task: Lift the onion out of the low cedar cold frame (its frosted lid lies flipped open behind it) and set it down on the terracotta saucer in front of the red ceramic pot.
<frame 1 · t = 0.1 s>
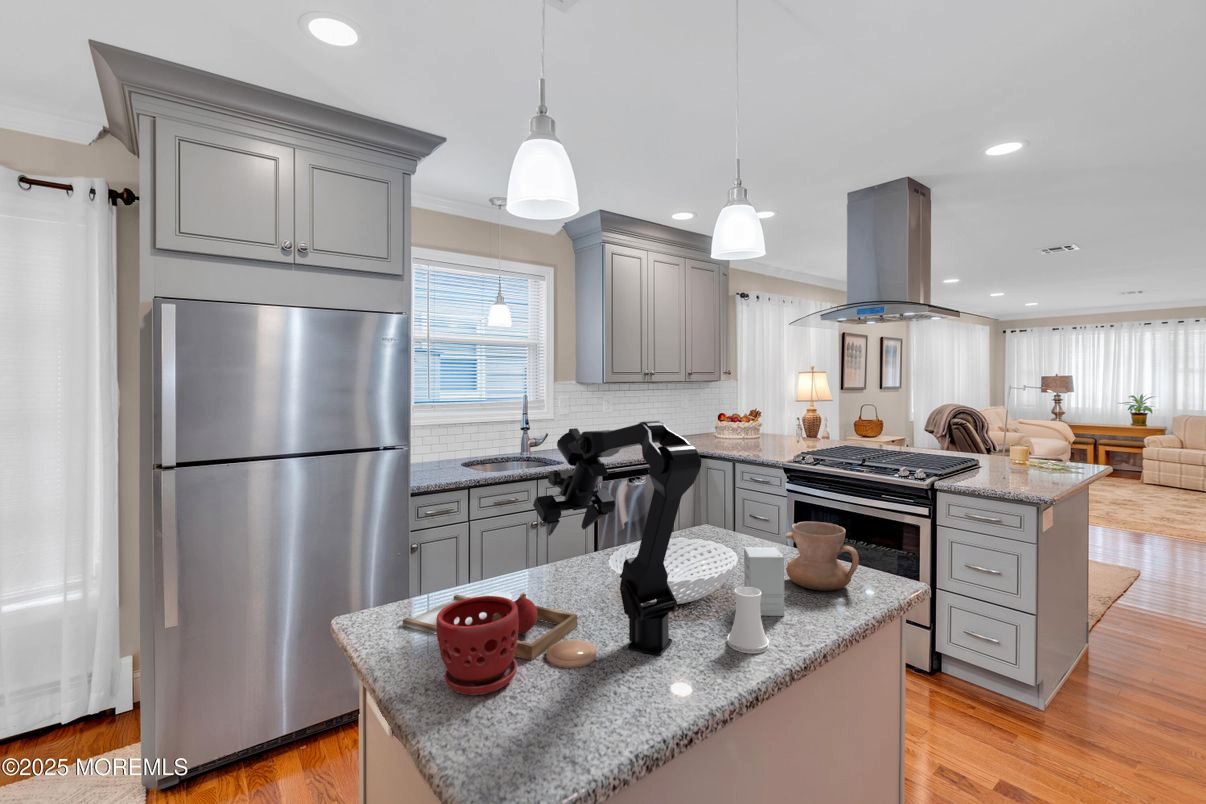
hand: (566, 531, 130), 15 cm above the kitchen island, tool tilted 35°, fingers open, 9 cm apart
cold frame: (522, 634, 109), on the kitchen island
vase: (748, 645, 104), on the kitchen island
plant pot: (478, 682, 92), on the kitchen island
ceramic jug: (820, 586, 135), on the kitchen island
supplement box: (763, 610, 121), on the kitchen island
onion: (522, 635, 109), resting in cold frame
saucer: (571, 655, 100), on the kitchen island
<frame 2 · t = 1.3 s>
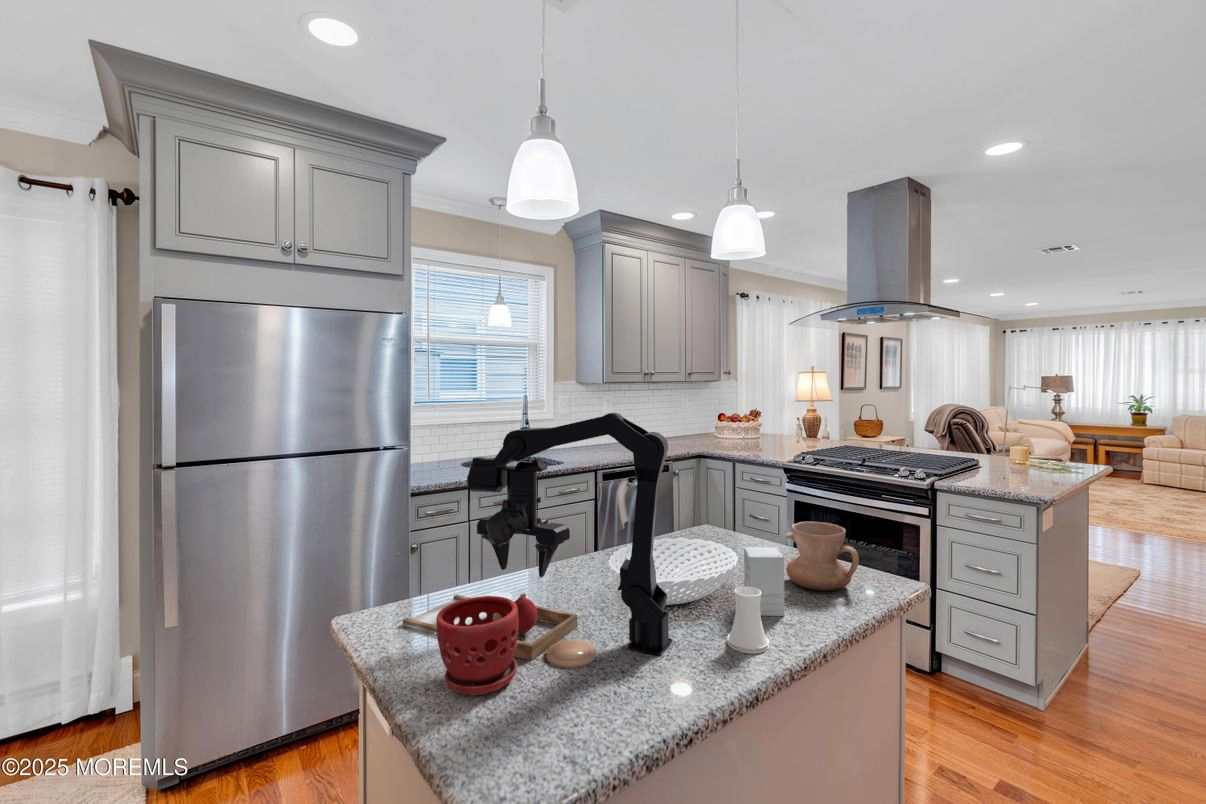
hand: (522, 573, 109), 12 cm above the kitchen island, tool pointing down, fingers open, 9 cm apart
nothing on the kitchen island moved.
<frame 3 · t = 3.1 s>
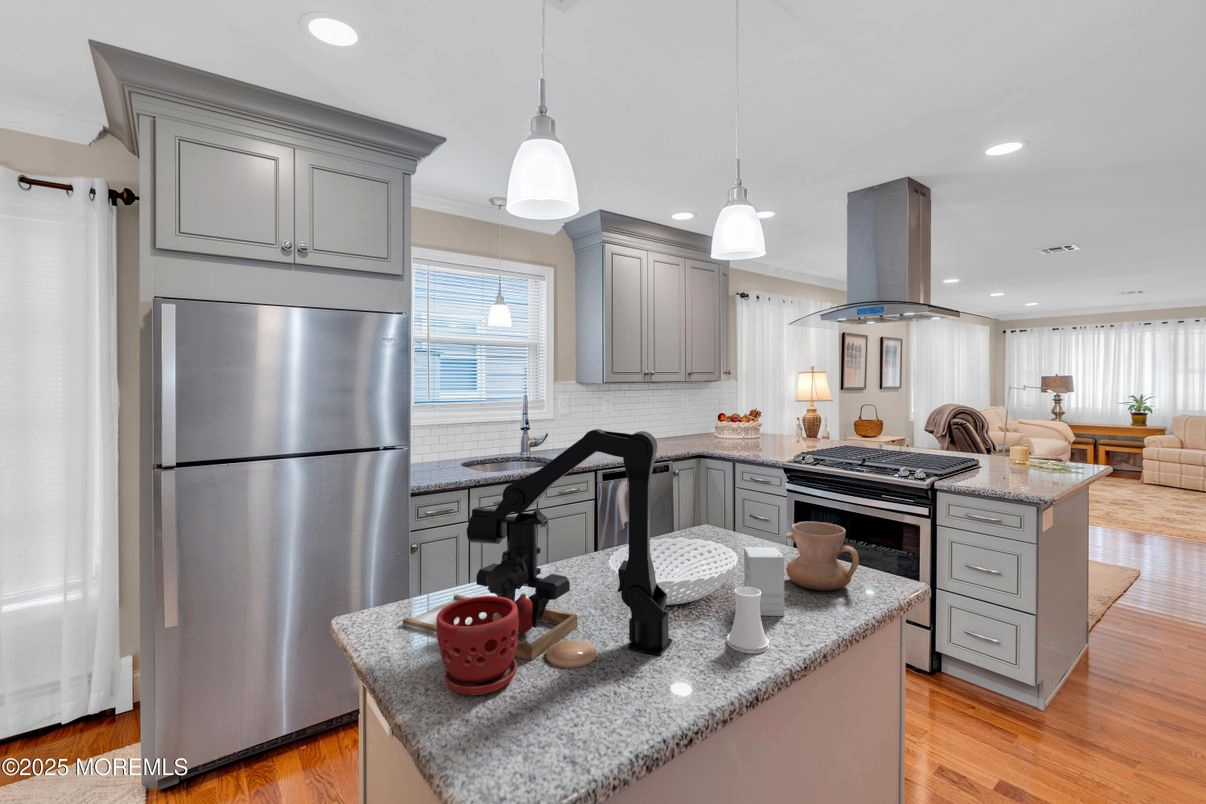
hand: (522, 624, 109), 2 cm above the kitchen island, tool pointing down, fingers closed on onion, 6 cm apart
onion: (522, 635, 109), resting in cold frame, touching gripper
everything else where it was.
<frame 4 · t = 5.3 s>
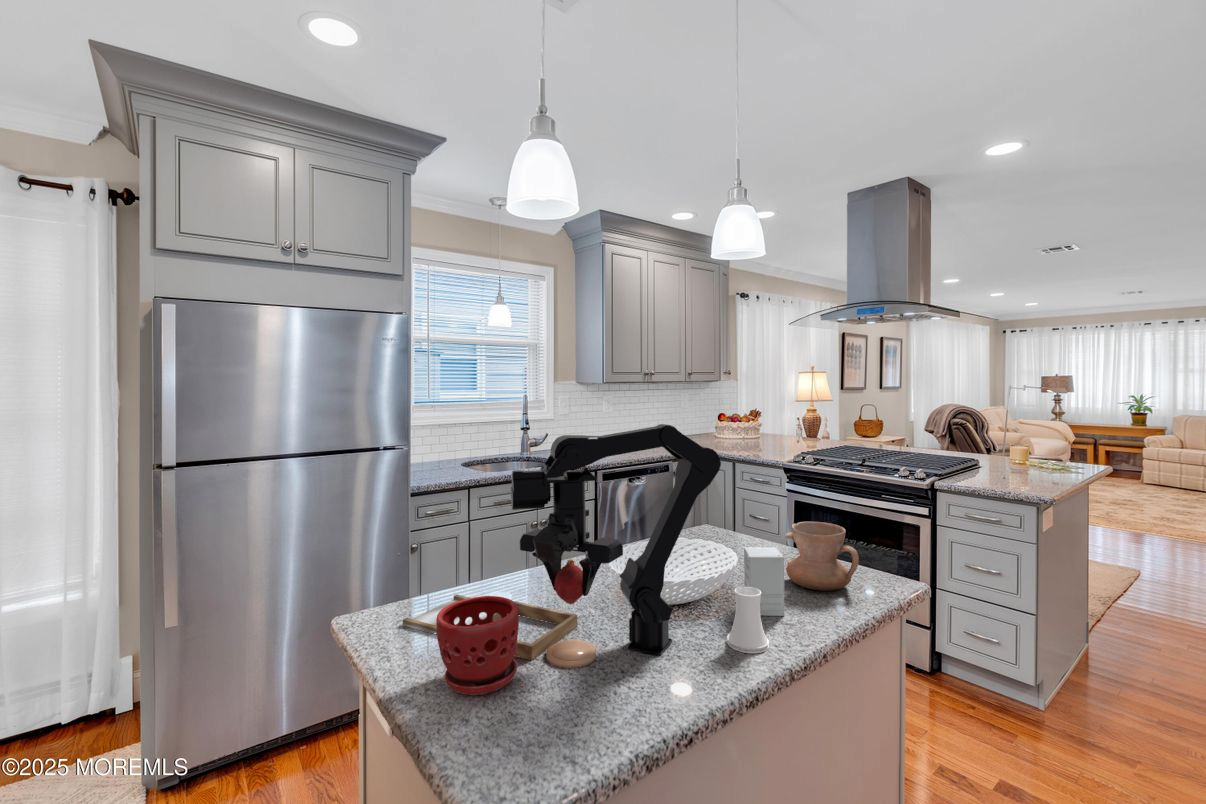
hand: (570, 592, 100), 11 cm above the kitchen island, tool pointing down, fingers closed on onion, 6 cm apart
onion: (571, 605, 100), point 9 cm above the kitchen island, touching gripper
everything else where it was.
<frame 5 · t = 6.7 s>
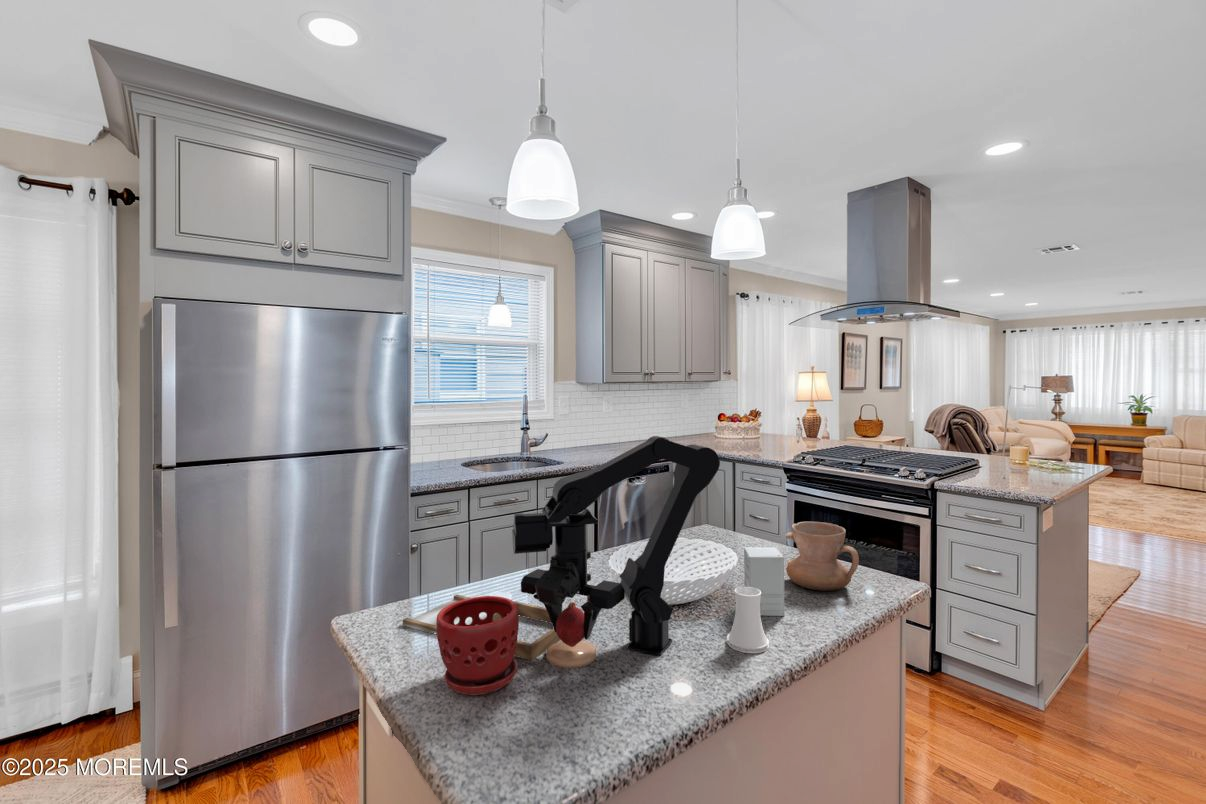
hand: (572, 635, 100), 4 cm above the kitchen island, tool pointing down, fingers closed on onion, 6 cm apart
onion: (572, 647, 100), point 1 cm above the kitchen island, touching gripper
everything else where it was.
when the fingers open (3 cm above the kitchen island, at t = 7.6 s): onion stays where it is, resting on saucer.
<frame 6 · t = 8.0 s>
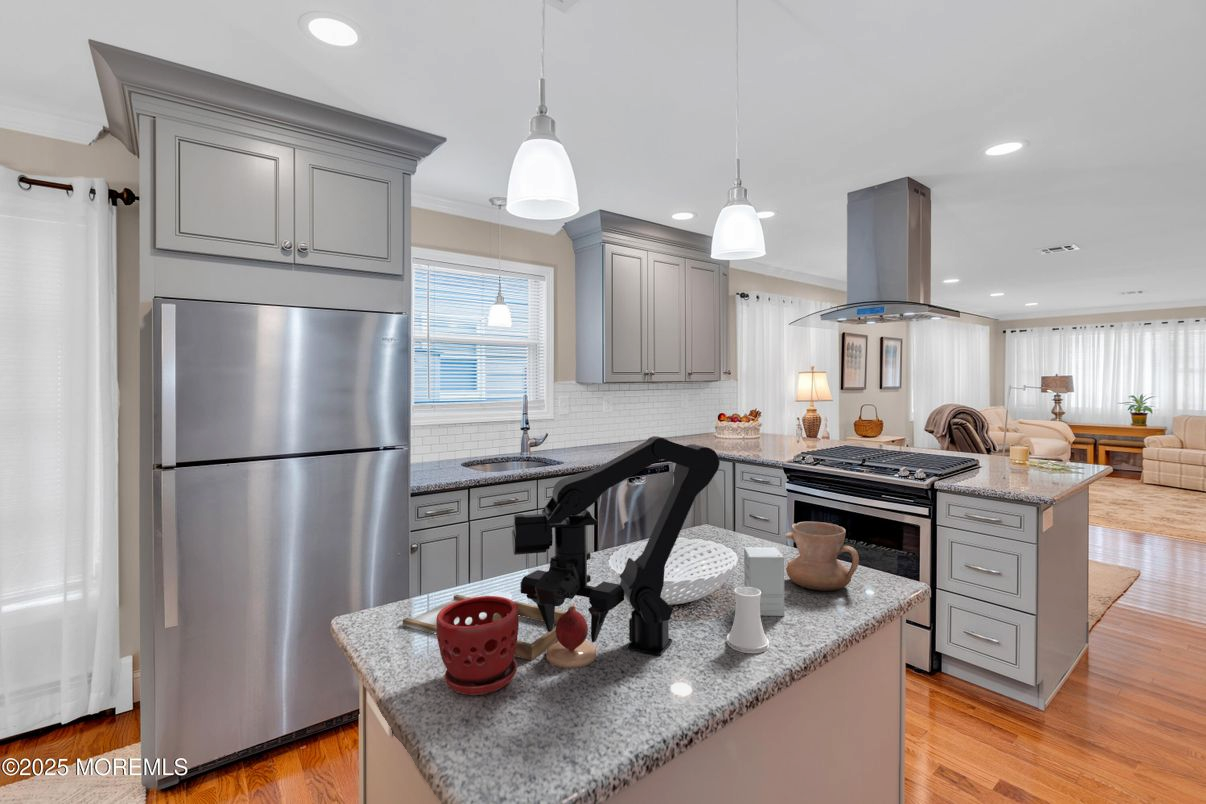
hand: (571, 636, 100), 3 cm above the kitchen island, tool pointing down, fingers open, 9 cm apart
onion: (571, 651, 100), point 1 cm above the kitchen island, touching saucer
everything else where it was.
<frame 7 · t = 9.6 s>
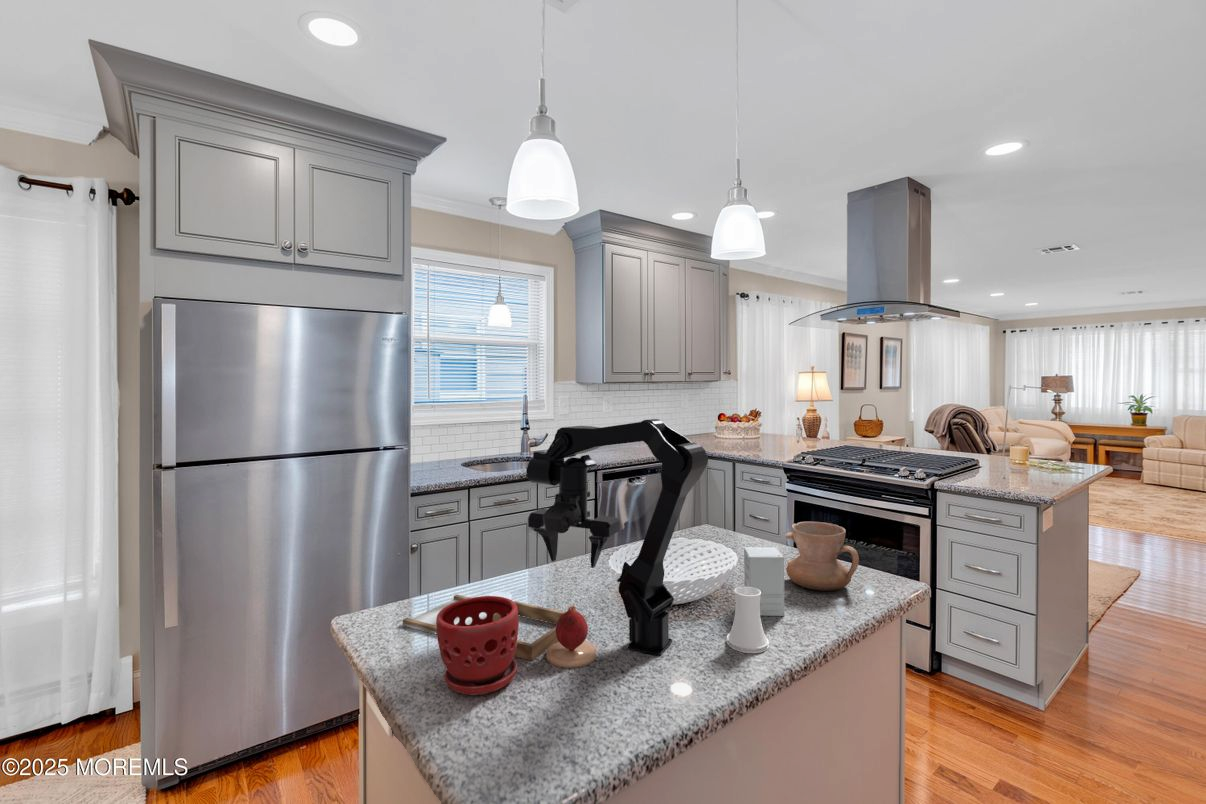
hand: (573, 564, 114), 12 cm above the kitchen island, tool pointing down, fingers open, 9 cm apart
nothing on the kitchen island moved.
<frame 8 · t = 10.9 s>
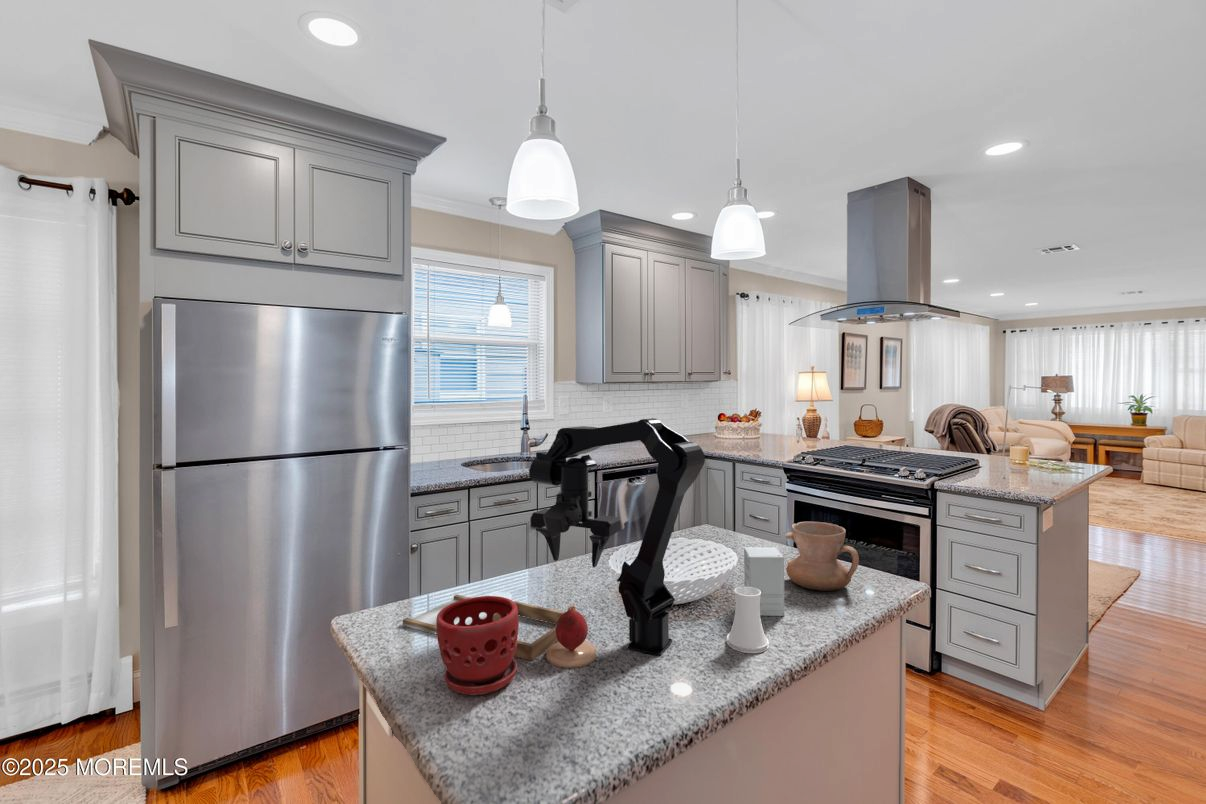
hand: (575, 563, 115), 12 cm above the kitchen island, tool pointing down, fingers open, 9 cm apart
nothing on the kitchen island moved.
at the end: onion 0.1 cm from the saucer (horizontally); onion point 0.7 cm above the kitchen island; the gripper is holding nothing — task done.
